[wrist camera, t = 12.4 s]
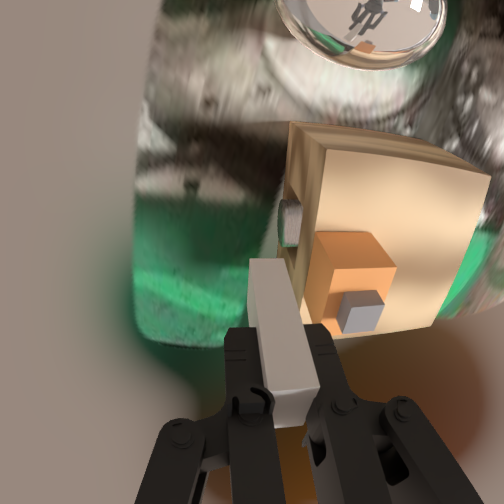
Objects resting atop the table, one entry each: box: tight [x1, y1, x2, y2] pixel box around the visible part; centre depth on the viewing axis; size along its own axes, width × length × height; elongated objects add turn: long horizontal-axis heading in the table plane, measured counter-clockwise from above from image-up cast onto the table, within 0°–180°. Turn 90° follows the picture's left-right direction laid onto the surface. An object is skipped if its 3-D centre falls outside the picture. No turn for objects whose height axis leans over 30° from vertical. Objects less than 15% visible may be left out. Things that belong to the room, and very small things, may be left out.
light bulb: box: [274, 0, 447, 71], centre depth 10 cm, size 7×7×12 cm
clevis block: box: [277, 121, 491, 339], centre depth 19 cm, size 12×11×8 cm
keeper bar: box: [304, 232, 397, 336], centre depth 14 cm, size 4×3×4 cm
